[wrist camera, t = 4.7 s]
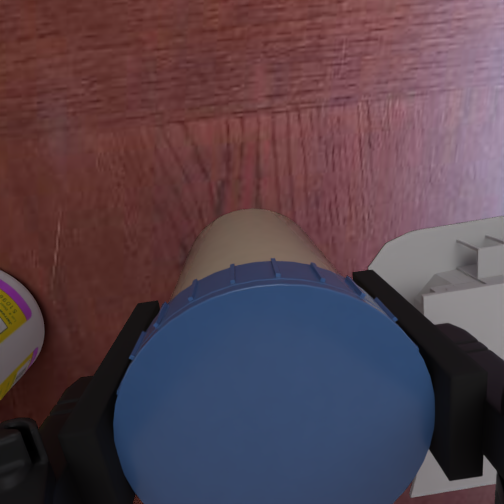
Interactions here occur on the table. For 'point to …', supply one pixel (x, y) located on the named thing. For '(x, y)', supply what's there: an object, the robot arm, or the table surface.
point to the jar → (248, 245)
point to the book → (451, 301)
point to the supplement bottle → (17, 331)
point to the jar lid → (273, 394)
